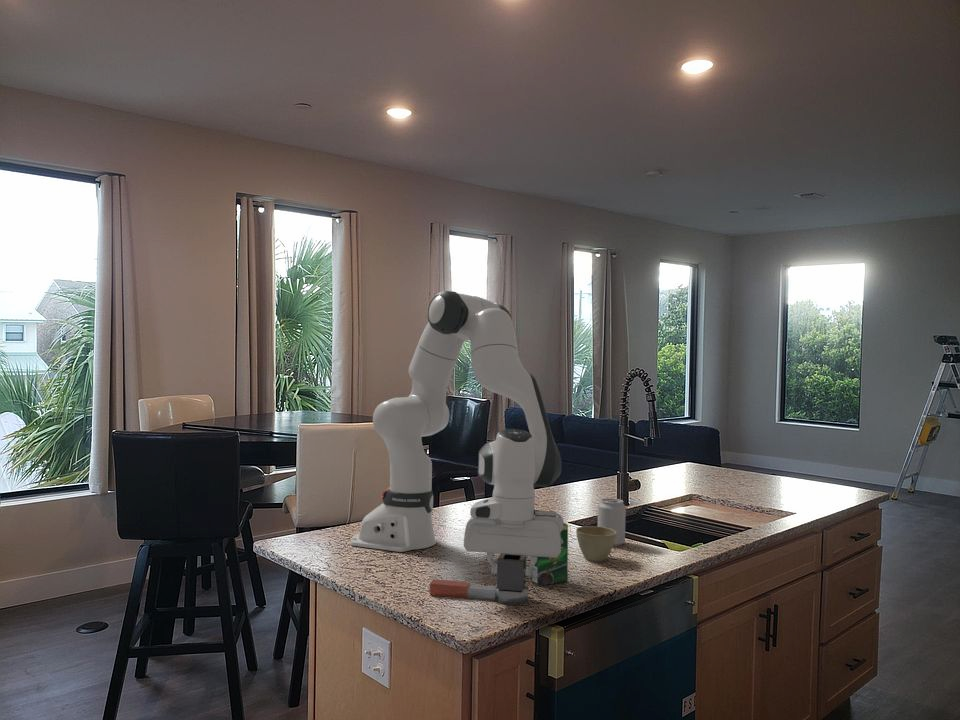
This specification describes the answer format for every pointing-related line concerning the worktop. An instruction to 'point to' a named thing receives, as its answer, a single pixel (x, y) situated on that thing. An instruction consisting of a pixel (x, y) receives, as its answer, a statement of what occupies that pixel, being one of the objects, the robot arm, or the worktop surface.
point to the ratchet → (478, 592)
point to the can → (613, 517)
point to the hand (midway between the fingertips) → (511, 574)
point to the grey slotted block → (511, 572)
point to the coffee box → (553, 565)
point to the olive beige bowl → (595, 542)
